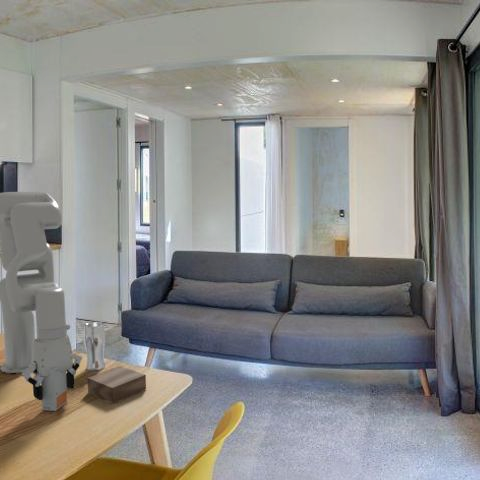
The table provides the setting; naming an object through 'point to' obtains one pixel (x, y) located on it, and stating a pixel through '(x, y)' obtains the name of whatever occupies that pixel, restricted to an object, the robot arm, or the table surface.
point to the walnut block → (116, 384)
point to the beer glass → (94, 345)
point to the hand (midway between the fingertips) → (54, 393)
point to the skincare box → (54, 390)
